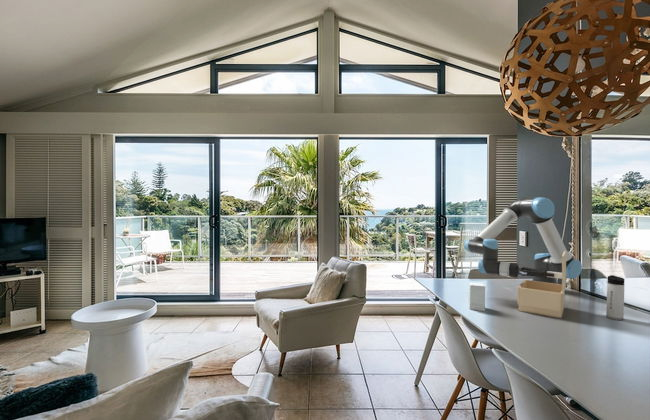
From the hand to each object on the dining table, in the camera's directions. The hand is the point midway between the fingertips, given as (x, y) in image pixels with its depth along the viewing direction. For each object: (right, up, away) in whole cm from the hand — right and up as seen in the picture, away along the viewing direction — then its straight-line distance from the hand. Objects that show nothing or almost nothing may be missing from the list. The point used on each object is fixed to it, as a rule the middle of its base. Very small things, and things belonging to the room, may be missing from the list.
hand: (562, 275), depth 170 cm
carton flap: (+1, +2, +1) cm, 3 cm away
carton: (-6, -19, +7) cm, 21 cm away
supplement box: (-40, -18, +7) cm, 44 cm away
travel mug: (+21, -19, -6) cm, 29 cm away
